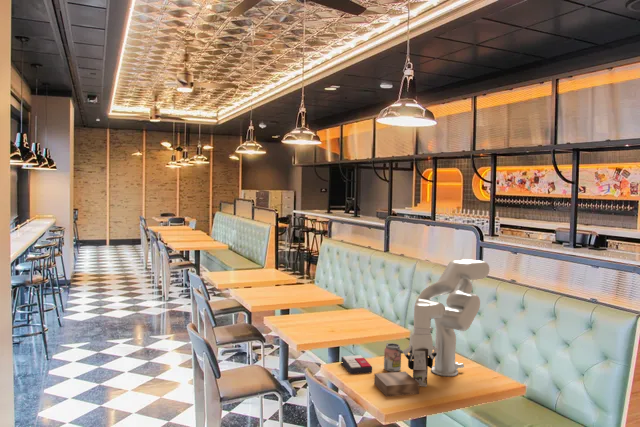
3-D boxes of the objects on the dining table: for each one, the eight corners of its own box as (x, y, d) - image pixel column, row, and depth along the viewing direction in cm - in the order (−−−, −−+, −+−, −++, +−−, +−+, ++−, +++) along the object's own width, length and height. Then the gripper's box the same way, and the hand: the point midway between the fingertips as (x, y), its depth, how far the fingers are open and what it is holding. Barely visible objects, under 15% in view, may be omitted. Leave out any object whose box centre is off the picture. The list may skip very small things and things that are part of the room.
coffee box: (427, 387, 215) (428, 351, 214) (412, 385, 216) (413, 350, 215) (426, 379, 224) (427, 345, 223) (412, 378, 225) (413, 343, 224)
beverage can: (394, 365, 242) (395, 341, 241) (406, 370, 234) (406, 346, 234) (380, 368, 237) (380, 343, 236) (391, 373, 230) (392, 348, 229)
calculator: (350, 367, 228) (341, 355, 242) (350, 376, 228) (340, 363, 243) (372, 365, 231) (361, 353, 245) (372, 374, 231) (361, 362, 246)
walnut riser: (405, 382, 221) (405, 371, 220) (418, 394, 207) (419, 383, 207) (374, 384, 217) (374, 373, 217) (386, 397, 203) (386, 385, 203)
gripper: (434, 327, 225) (432, 363, 225) (400, 329, 220) (399, 366, 220) (443, 332, 218) (441, 369, 218) (408, 333, 213) (406, 372, 213)
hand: (420, 367), depth 219 cm, fingers open, 9 cm apart
